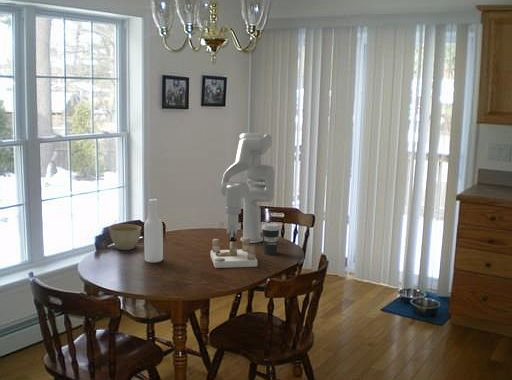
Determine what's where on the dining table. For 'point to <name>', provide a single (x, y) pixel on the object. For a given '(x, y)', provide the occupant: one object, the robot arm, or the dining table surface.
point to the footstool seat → (232, 260)
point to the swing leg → (232, 250)
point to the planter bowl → (125, 236)
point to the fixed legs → (245, 247)
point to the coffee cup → (270, 238)
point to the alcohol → (153, 235)
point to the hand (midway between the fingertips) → (232, 246)
